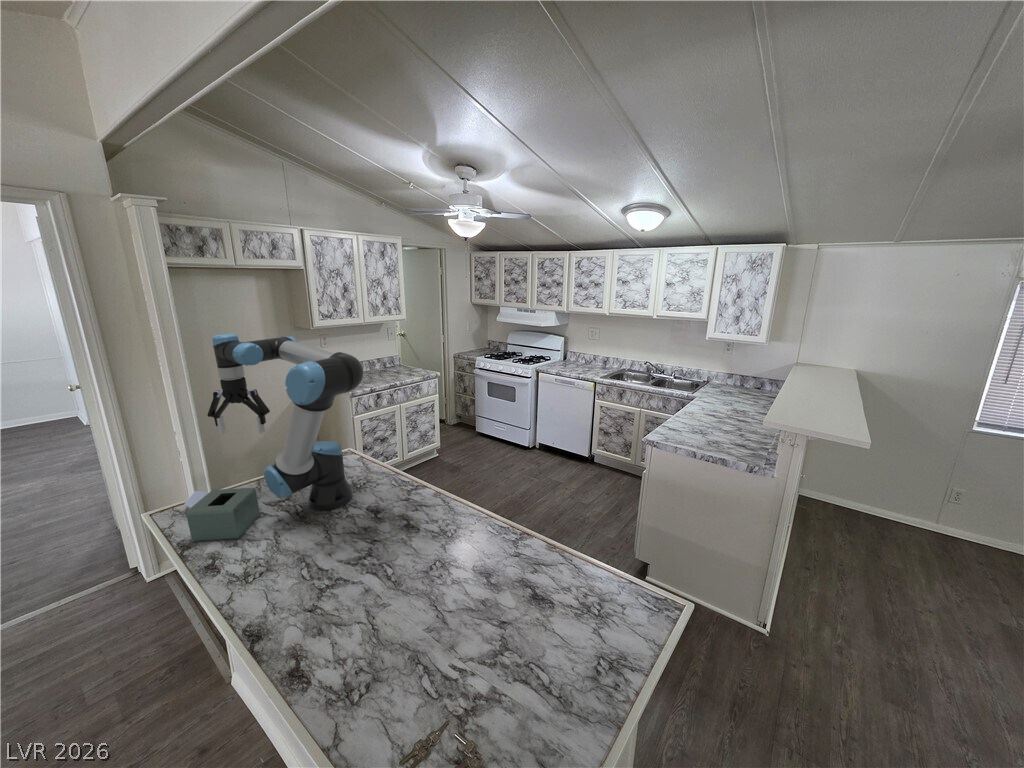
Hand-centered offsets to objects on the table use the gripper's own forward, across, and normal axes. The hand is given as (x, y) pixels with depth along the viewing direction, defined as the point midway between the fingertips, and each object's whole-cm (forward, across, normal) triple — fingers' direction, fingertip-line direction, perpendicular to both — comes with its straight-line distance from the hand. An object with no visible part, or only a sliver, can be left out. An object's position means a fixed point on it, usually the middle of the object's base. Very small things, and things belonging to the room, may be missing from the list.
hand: (242, 433), depth 148 cm
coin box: (+27, -1, +20) cm, 33 cm away
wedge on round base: (+27, +12, +8) cm, 31 cm away
